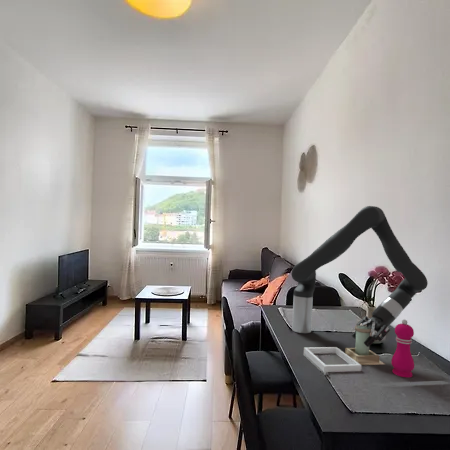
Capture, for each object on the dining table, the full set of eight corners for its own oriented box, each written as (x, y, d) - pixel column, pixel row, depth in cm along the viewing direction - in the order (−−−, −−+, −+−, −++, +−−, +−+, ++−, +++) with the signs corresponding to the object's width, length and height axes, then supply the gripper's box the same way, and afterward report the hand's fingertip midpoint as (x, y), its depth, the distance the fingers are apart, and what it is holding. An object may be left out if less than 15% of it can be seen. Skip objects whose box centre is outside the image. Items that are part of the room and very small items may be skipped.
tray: (303, 355, 138) (303, 347, 138) (336, 354, 140) (336, 347, 140) (324, 374, 120) (324, 366, 120) (361, 373, 122) (361, 365, 122)
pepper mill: (401, 381, 117) (404, 322, 117) (386, 372, 124) (388, 317, 124) (418, 380, 119) (421, 322, 119) (402, 371, 126) (405, 316, 126)
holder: (339, 355, 139) (340, 346, 139) (366, 354, 141) (367, 346, 141) (355, 367, 127) (356, 358, 127) (385, 366, 129) (385, 357, 129)
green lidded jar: (350, 355, 137) (351, 325, 137) (364, 355, 138) (365, 325, 138) (358, 361, 131) (360, 329, 131) (373, 361, 132) (374, 329, 132)
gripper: (370, 301, 143) (343, 328, 141) (393, 309, 129) (363, 340, 127) (381, 313, 144) (355, 341, 142) (405, 323, 130) (376, 354, 128)
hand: (359, 341), depth 134 cm, fingers open, 8 cm apart
